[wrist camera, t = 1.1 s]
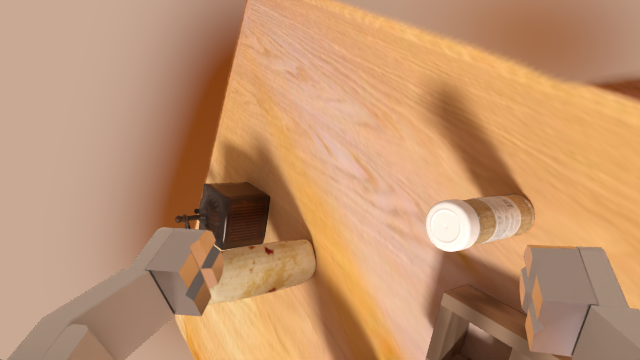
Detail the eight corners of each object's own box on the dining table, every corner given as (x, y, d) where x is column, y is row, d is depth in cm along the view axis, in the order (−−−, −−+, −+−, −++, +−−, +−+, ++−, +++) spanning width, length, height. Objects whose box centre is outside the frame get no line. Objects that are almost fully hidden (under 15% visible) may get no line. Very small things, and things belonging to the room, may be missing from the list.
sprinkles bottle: (487, 212, 48) (415, 223, 40) (514, 184, 46) (444, 189, 37) (515, 244, 46) (445, 262, 37) (546, 216, 43) (479, 229, 35)
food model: (303, 228, 74) (195, 242, 61) (325, 251, 70) (214, 270, 57) (288, 272, 78) (184, 294, 65) (309, 296, 74) (201, 325, 61)
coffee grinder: (243, 179, 90) (157, 181, 78) (271, 196, 82) (181, 201, 70) (234, 246, 94) (151, 258, 82) (260, 268, 86) (172, 285, 74)
